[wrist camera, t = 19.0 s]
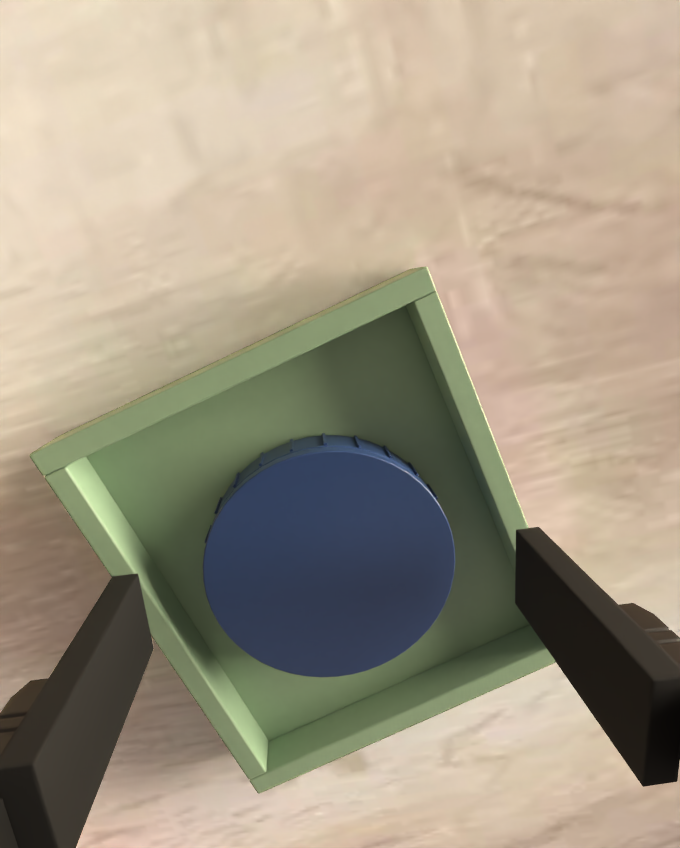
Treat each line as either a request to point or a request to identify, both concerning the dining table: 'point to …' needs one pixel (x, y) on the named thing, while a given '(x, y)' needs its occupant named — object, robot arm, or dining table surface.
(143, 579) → the tray
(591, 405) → the dining table surface
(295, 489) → the lid
